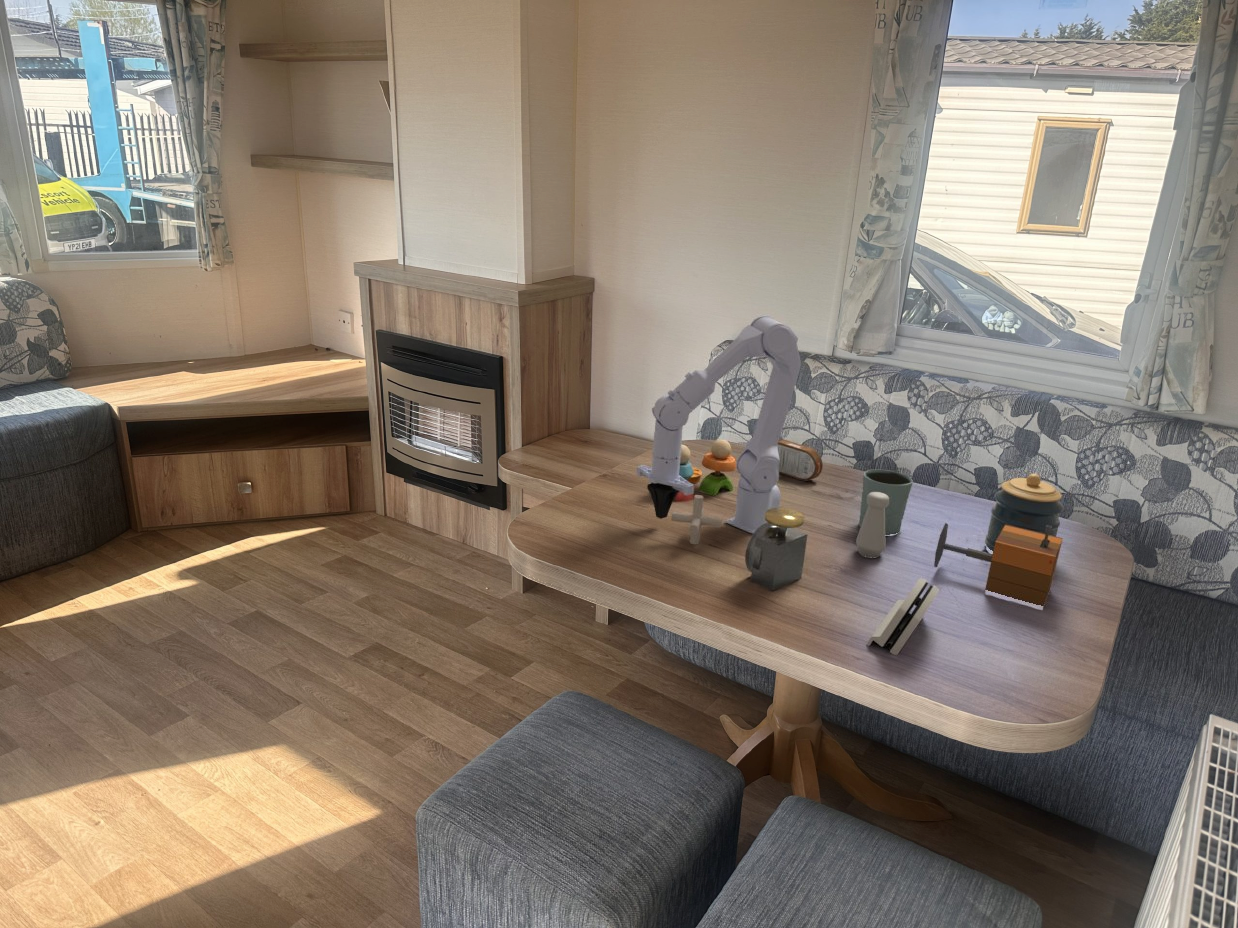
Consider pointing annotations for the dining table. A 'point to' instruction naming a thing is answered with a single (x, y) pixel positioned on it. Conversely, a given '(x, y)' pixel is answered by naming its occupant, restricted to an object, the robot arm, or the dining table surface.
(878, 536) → the salt shaker
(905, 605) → the beige slotted block
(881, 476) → the green cup
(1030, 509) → the canister
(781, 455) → the tin
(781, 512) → the kitchen scale
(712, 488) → the colourful wooden stacking toy
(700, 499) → the pipe connector
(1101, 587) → the dining table surface
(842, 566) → the dining table surface
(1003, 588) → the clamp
